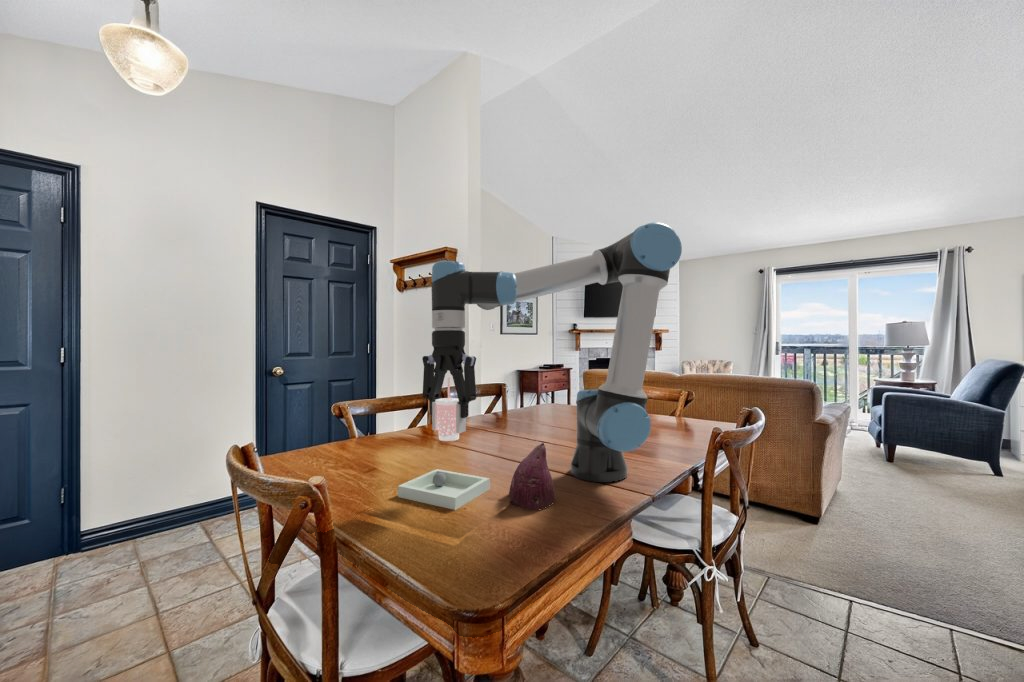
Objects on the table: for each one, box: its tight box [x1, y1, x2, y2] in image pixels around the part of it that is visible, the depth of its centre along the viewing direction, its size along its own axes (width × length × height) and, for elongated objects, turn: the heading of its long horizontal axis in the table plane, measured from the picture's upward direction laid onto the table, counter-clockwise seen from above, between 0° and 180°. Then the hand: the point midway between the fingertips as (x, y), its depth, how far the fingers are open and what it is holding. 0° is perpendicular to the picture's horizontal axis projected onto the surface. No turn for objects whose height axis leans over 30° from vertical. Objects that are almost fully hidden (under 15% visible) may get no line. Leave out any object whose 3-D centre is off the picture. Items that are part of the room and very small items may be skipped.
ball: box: [433, 473, 446, 486], centre depth 101 cm, size 3×3×3 cm
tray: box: [397, 468, 491, 511], centre depth 97 cm, size 16×14×4 cm
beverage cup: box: [435, 377, 460, 442], centre depth 95 cm, size 6×6×14 cm
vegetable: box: [508, 441, 555, 511], centre depth 94 cm, size 10×10×15 cm
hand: (448, 430), depth 95 cm, fingers closed on beverage cup, 6 cm apart
